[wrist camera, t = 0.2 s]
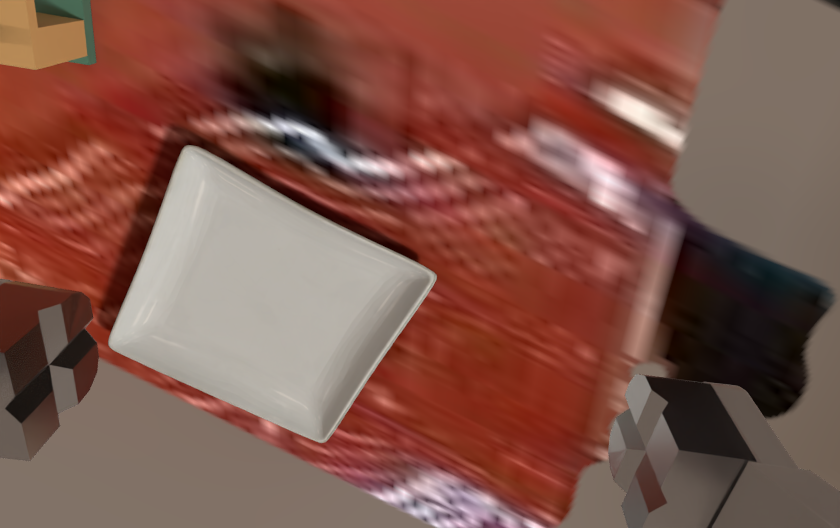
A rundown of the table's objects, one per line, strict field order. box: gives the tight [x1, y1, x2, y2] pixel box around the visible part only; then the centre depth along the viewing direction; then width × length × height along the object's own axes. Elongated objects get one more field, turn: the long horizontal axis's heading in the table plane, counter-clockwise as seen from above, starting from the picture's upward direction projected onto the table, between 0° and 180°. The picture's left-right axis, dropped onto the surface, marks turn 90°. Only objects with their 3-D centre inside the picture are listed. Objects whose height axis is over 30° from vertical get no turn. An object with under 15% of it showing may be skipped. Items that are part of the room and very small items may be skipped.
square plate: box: [108, 145, 437, 443], centre depth 64 cm, size 27×27×4 cm
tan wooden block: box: [0, 0, 87, 70], centre depth 48 cm, size 6×4×7 cm
